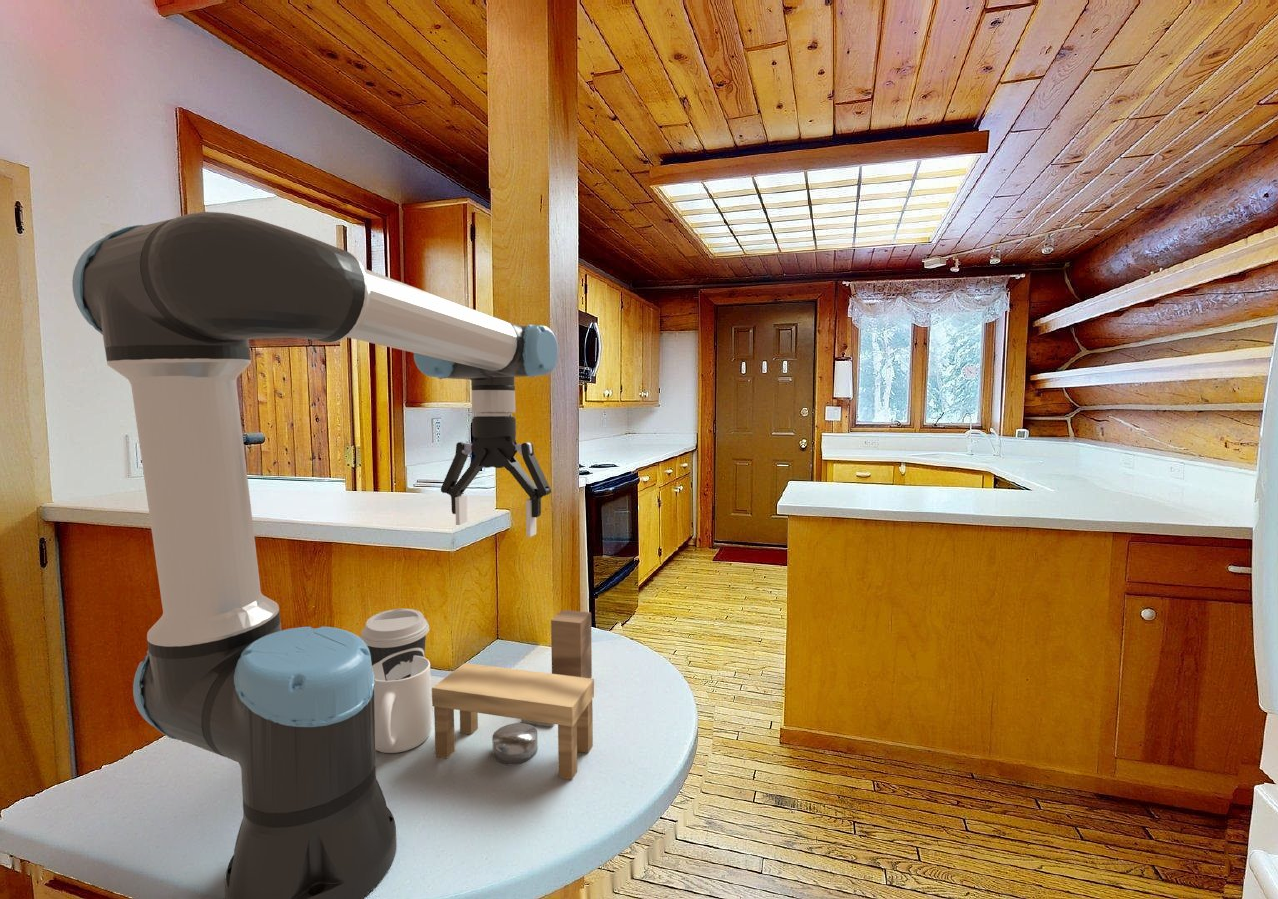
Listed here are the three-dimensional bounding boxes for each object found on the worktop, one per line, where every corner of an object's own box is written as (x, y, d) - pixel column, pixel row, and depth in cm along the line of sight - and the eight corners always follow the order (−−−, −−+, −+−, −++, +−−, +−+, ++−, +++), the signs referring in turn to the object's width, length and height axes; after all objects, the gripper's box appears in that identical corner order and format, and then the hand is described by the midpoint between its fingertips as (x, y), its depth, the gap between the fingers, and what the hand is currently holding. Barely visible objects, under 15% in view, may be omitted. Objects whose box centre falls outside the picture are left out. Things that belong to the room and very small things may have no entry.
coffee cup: (442, 697, 94) (439, 608, 92) (414, 733, 85) (410, 635, 83) (385, 693, 95) (380, 604, 93) (351, 729, 86) (345, 631, 84)
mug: (416, 770, 76) (414, 693, 75) (349, 774, 75) (346, 697, 74) (438, 720, 88) (436, 653, 87) (380, 723, 87) (377, 656, 86)
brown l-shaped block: (553, 727, 86) (552, 650, 85) (521, 722, 88) (519, 647, 87) (591, 677, 102) (591, 612, 101) (563, 673, 104) (563, 610, 103)
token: (525, 768, 76) (525, 750, 76) (484, 761, 78) (484, 743, 78) (544, 743, 82) (544, 726, 82) (505, 737, 84) (505, 720, 84)
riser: (573, 780, 74) (572, 707, 73) (433, 756, 79) (431, 688, 78) (594, 745, 81) (593, 678, 81) (466, 725, 87) (464, 663, 86)
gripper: (567, 414, 105) (569, 532, 106) (442, 414, 110) (445, 526, 112) (552, 415, 97) (554, 541, 99) (418, 415, 103) (422, 534, 105)
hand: (496, 533), depth 105 cm, fingers open, 13 cm apart
